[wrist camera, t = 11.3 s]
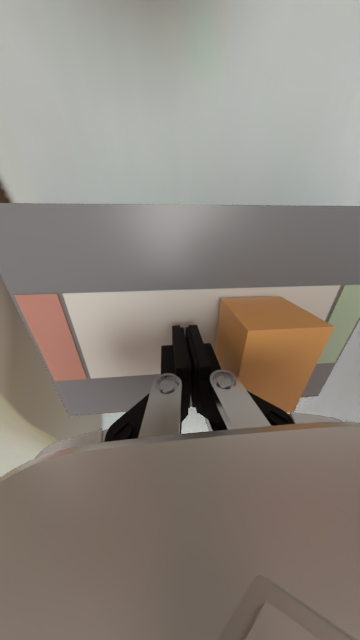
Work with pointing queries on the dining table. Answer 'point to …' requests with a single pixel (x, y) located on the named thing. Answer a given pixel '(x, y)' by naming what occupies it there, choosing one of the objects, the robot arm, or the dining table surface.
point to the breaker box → (166, 283)
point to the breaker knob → (270, 346)
